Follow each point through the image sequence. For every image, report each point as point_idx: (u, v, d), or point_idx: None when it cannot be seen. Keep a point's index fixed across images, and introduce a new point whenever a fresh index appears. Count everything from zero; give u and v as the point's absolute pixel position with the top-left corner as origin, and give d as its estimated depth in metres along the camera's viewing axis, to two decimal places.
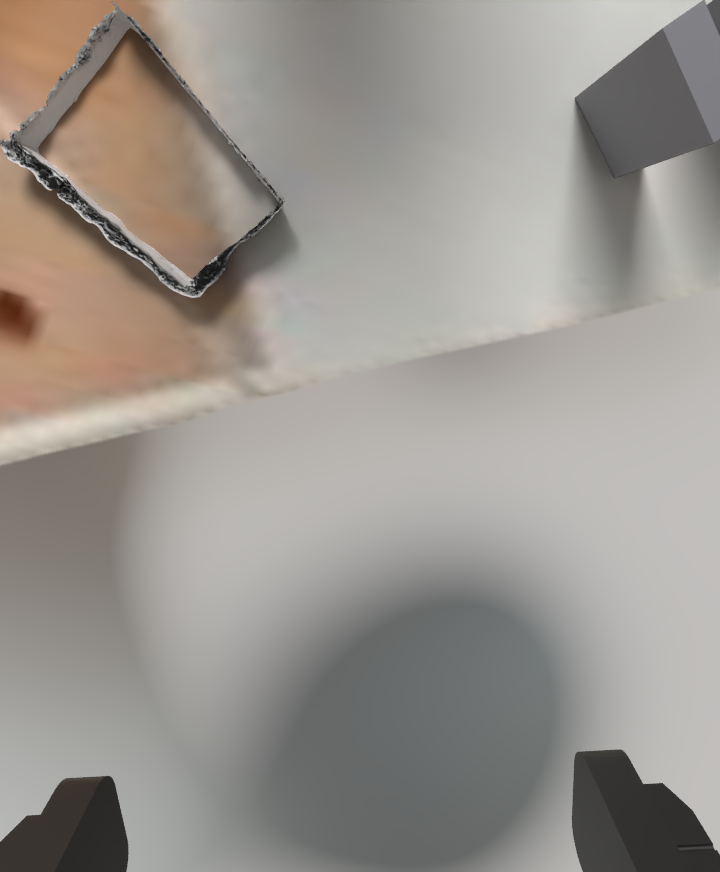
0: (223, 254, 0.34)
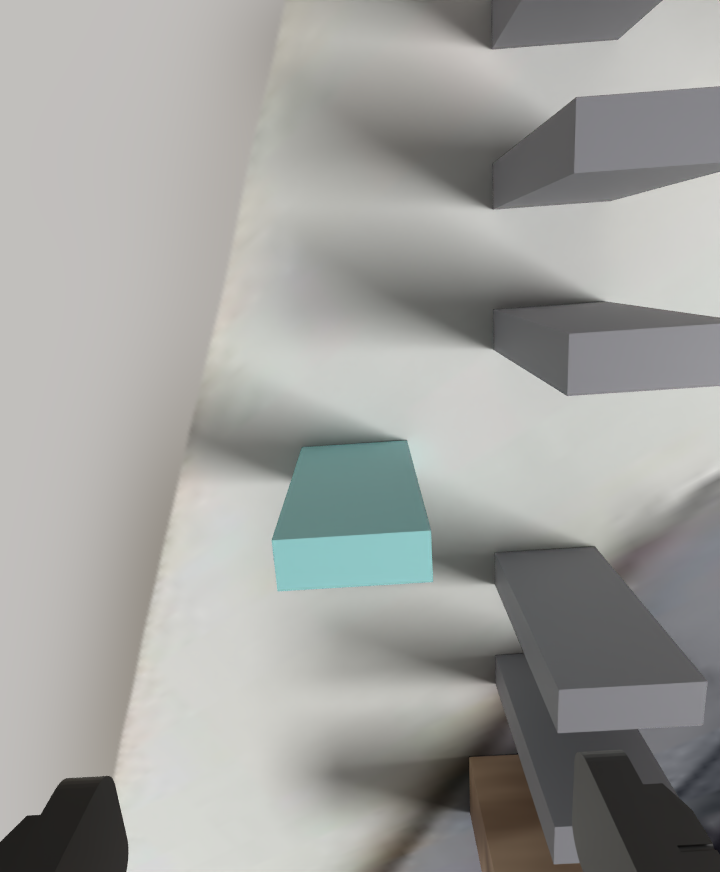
0: None
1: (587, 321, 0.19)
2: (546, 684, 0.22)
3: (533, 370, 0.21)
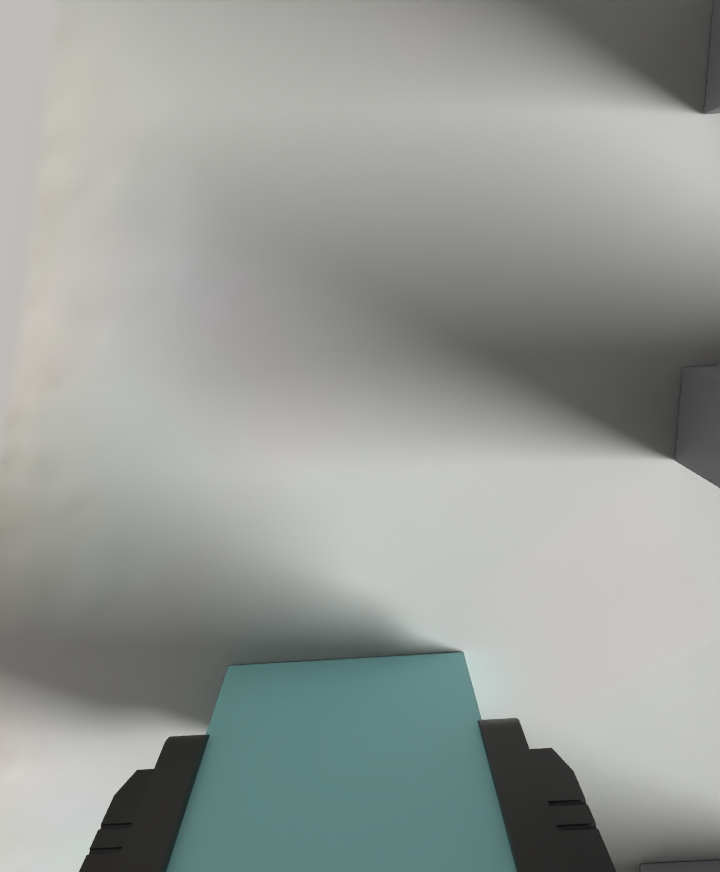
0: None
1: None
2: None
3: None
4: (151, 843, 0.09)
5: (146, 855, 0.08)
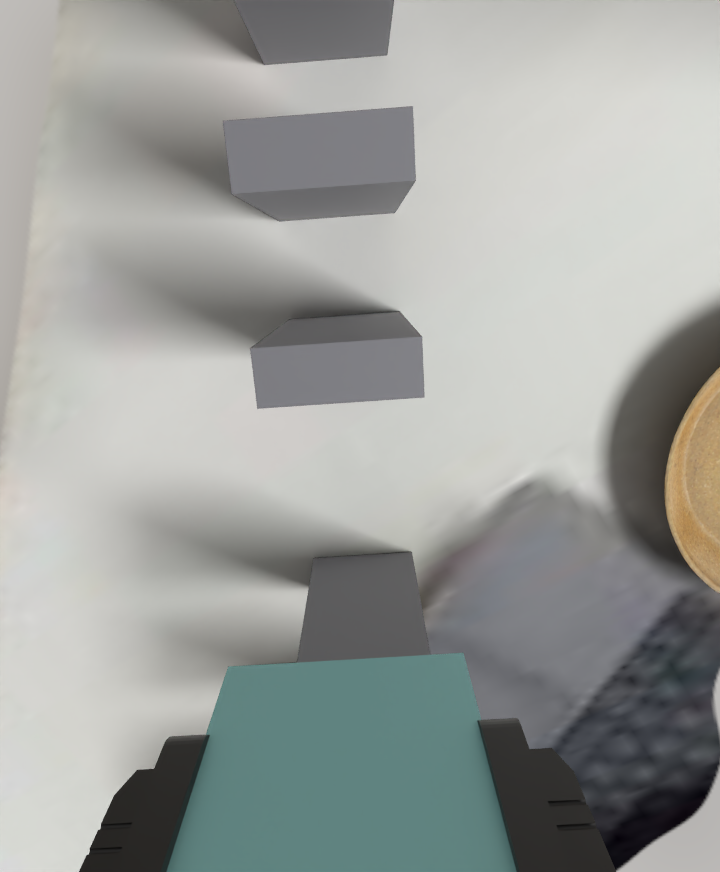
0: None
1: (310, 334, 0.20)
2: None
3: None
4: (151, 843, 0.09)
5: (146, 855, 0.08)
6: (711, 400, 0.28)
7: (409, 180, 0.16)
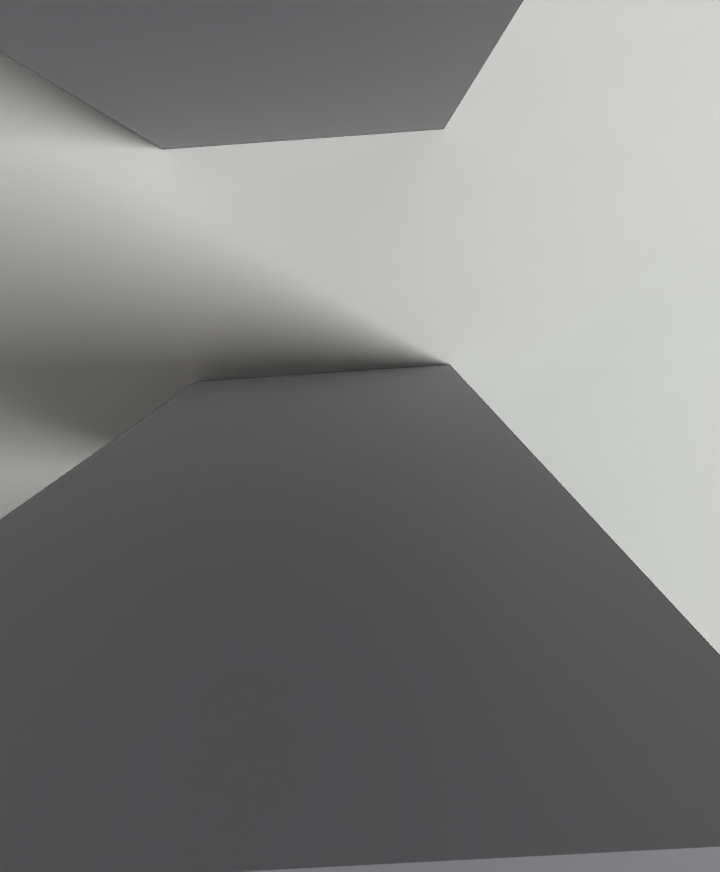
0: None
1: (148, 537, 0.05)
2: None
3: None
4: None
5: None
6: None
7: None
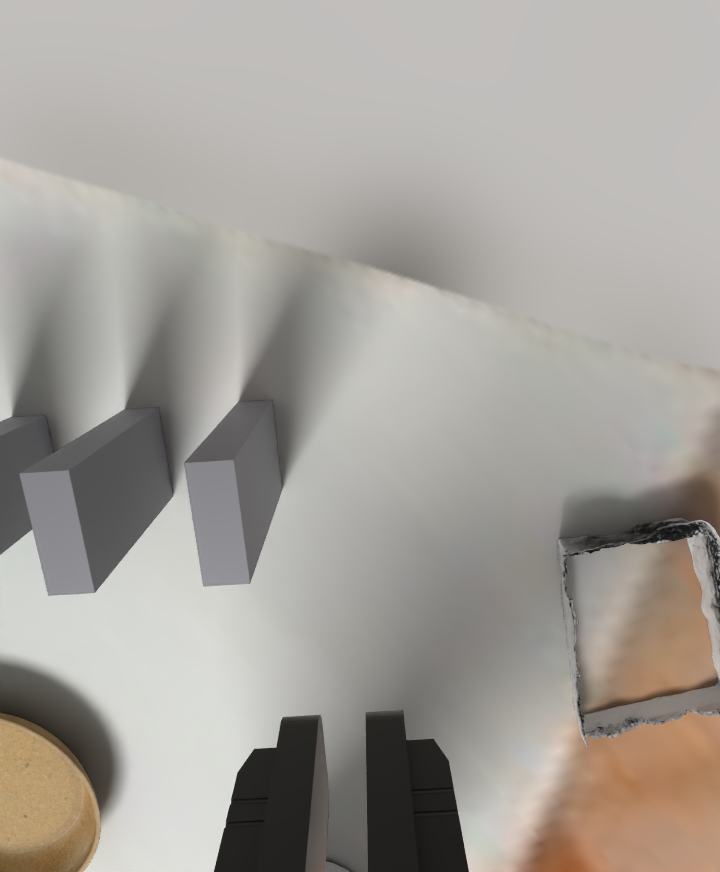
0: (649, 541, 0.31)
1: None
2: None
3: None
4: (292, 815, 0.09)
5: (290, 826, 0.09)
6: None
7: (48, 591, 0.23)
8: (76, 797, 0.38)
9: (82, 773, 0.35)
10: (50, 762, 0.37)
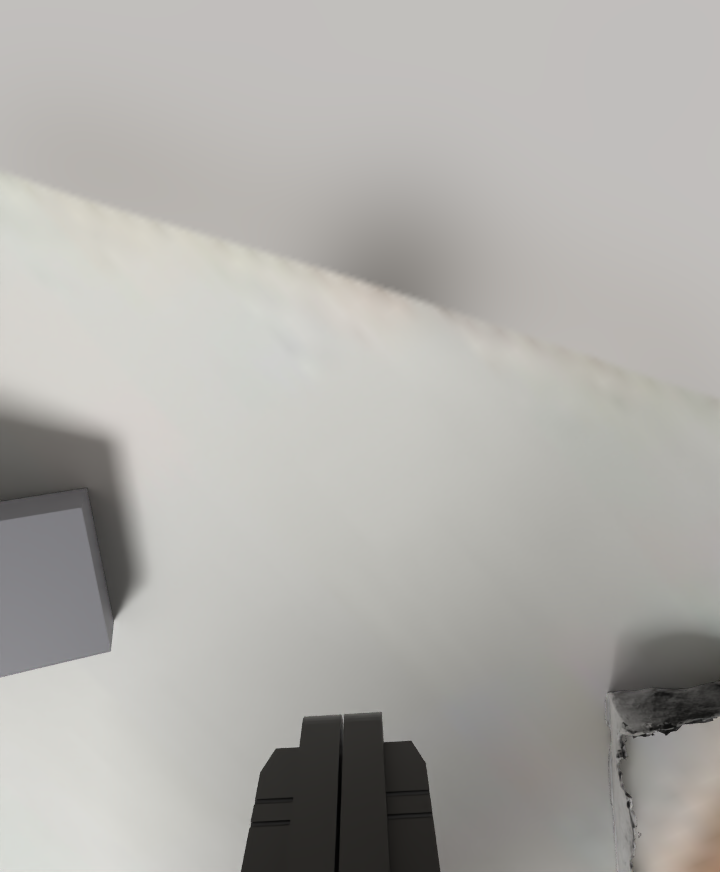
0: None
1: None
2: None
3: None
4: (318, 816, 0.09)
5: (316, 827, 0.09)
6: None
7: None
8: None
9: None
10: None
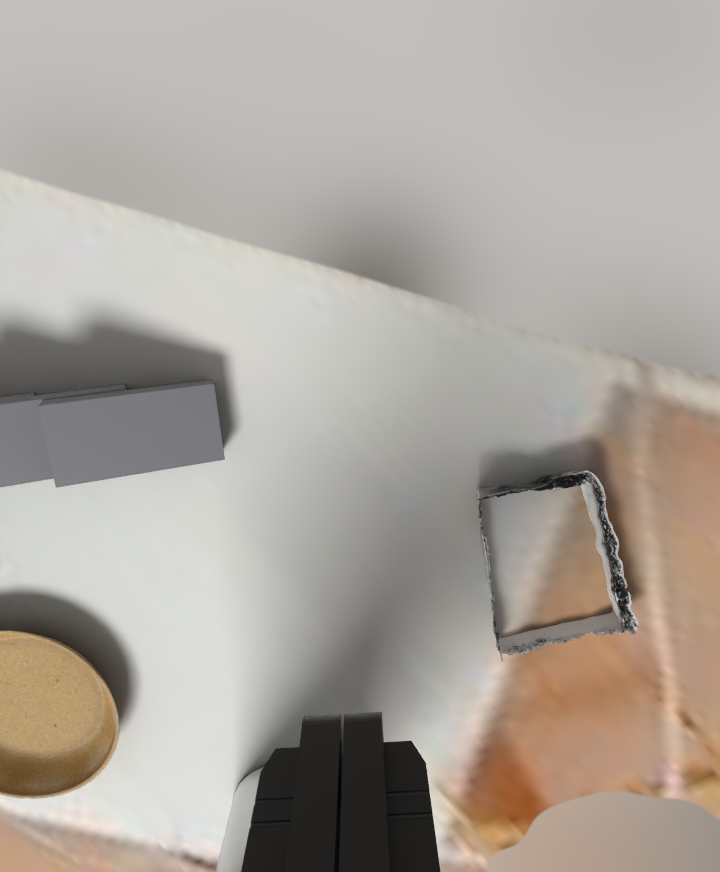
0: (546, 488, 0.39)
1: None
2: None
3: None
4: (318, 815, 0.09)
5: (317, 826, 0.09)
6: None
7: None
8: (97, 708, 0.46)
9: (104, 682, 0.43)
10: (76, 678, 0.45)
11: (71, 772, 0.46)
